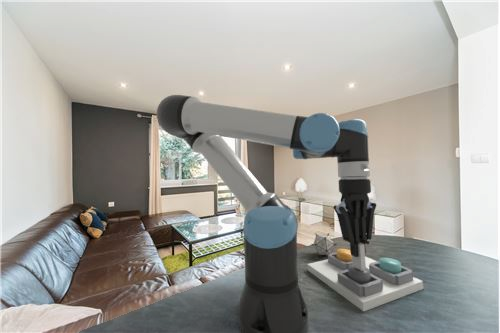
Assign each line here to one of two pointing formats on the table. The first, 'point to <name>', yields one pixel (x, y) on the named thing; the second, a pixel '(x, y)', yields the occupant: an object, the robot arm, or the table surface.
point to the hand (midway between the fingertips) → (359, 267)
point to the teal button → (390, 265)
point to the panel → (369, 294)
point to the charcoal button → (359, 275)
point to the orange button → (344, 255)
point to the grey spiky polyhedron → (323, 244)
